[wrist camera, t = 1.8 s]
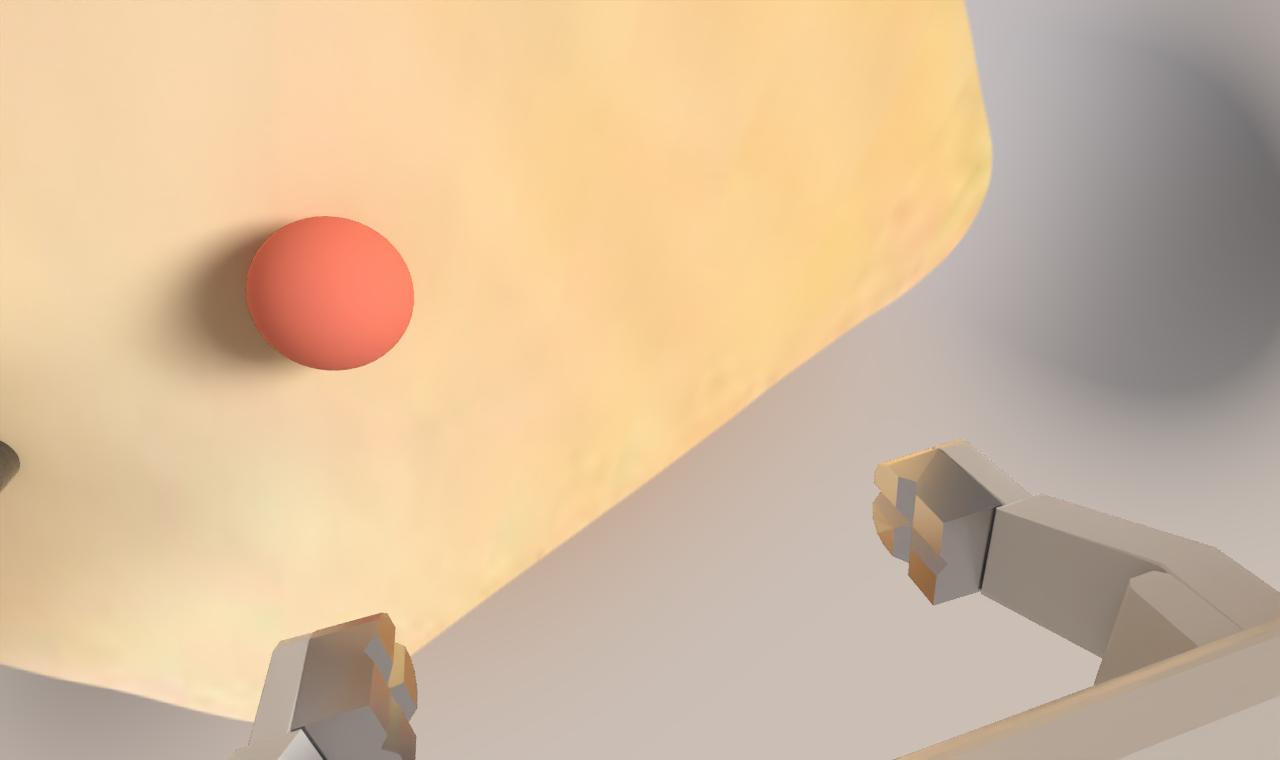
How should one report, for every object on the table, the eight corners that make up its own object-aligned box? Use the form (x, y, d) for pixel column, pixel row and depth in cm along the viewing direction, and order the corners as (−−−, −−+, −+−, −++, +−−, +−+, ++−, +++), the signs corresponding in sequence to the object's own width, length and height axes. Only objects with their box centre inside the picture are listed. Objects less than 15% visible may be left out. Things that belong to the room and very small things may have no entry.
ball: (286, 340, 30) (260, 410, 25) (242, 206, 27) (202, 255, 22) (425, 321, 31) (427, 384, 26) (398, 192, 28) (395, 234, 23)
